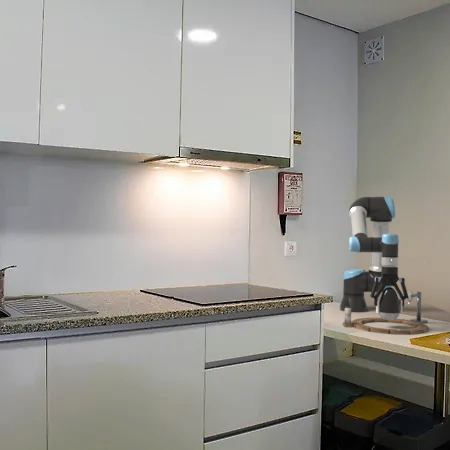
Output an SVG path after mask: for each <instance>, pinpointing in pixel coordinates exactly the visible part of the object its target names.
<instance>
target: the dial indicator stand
mask: <svg viewBox="0 0 450 450" xmlns="http://www.w3.org/2000/svg"><path fill="white" fill-rule="evenodd" d="M407 293H408V298H407V299H405V301H406V302H408V310H410V309H411V301H413V300H414V298H416V318H412V319H411V318H410V319H409V320H411V321H416V322H421V323H423V324H428V320H427V319H422V291H416V293H413V291H412V290H407Z"/></svg>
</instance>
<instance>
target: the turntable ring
mask: <svg viewBox="0 0 450 450" xmlns="http://www.w3.org/2000/svg"><path fill="white" fill-rule="evenodd" d="M377 322H378V323H393V324H394V323H395V324H401V325H406V326H407V325H408V326H412V327H413V328H412V327H411V328H385V327H383V328H382V327H376V326H372V325H371V326H370V325H366V324H367V323H377ZM342 326H343V327H344V328H355V329H357V330H361V331H365V332H367V333H368V332H370V333H379V334H386V335H389V334H390V335H417V334H424V333H425V332H427V331H428V330H429V326H428V325H426V323H421V322H416V321H411V320H410V319H405V318H404V319H403V318H396V319H394V320H386V319H383V318H382V317H361V318H355V319H353V320H352V312H351V308H345V311H344V321H343V322H342Z"/></svg>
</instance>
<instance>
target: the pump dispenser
mask: <svg viewBox="0 0 450 450" xmlns="http://www.w3.org/2000/svg"><path fill="white" fill-rule="evenodd" d="M398 296H399V295H398V293H397V291H396V289H395V288H394V287H393V286H391V287H387V288H385V289H383V291H382V293H381V294H380V296H379V313H378V315H379V316H380V318H383V319H386V320H394V319H399V318H398V317H399V316H400V303H399V299H400V298H399V297H398Z"/></svg>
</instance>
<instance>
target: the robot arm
mask: <svg viewBox="0 0 450 450" xmlns="http://www.w3.org/2000/svg"><path fill="white" fill-rule="evenodd" d="M348 217H349V219H350V222H351V232H352V236H350V237H349V239H348V240H349V242H348V244H349V245H348V247H349V248H348V249H349V251H350V252H352V253H371V265H370V266H369V267H368V271H366V270H365V268H353V269H347V270H345V271H344V272H343V277H342V280H343V294H342V298H341V302H340V306H339V310H340V311H343V310H344V312H345V308H351V313H352V312H354V313H362V312H367V311H368V306H367V305H368V304H367V301H366V299H365V293H370V295H369V297H370V298H372V299H374V301H373V305H374V307H375V312H376V313H377V314H379V300H380V297H381V294H382V291H383V289H385V288H387V287H393V288H394V290H395V291H396V293H397V295H398V296H399V298H398V299H399V303H400V313H399V315H401V314H402V315H403V307H404V306H405V301H406V299H407V298H408V293H407V291H408V290H407V287H406V283H405V282H406V281H405V280H406V279H405V277H399V267H398V266H399V243H400V242H399V241H400V240H399V235H398V233H390V232H389V231H390V229H389V228H390V224H391V223H392V221H393V219H395V218H396V208H395V201H394V199H393V198H392V197H391V196H362V197H359V198H357V199H355V200H354V201H353V202H352V203H351V205H350V206H349V209H348ZM366 219H369V221H370V222H371V223H372V236H369V235H368V234H369V233H368V226H367V220H366ZM398 281H399V283H400V286H401V289H402V291H401V290H400V287H399V285H398V284H397V283H398Z"/></svg>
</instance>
